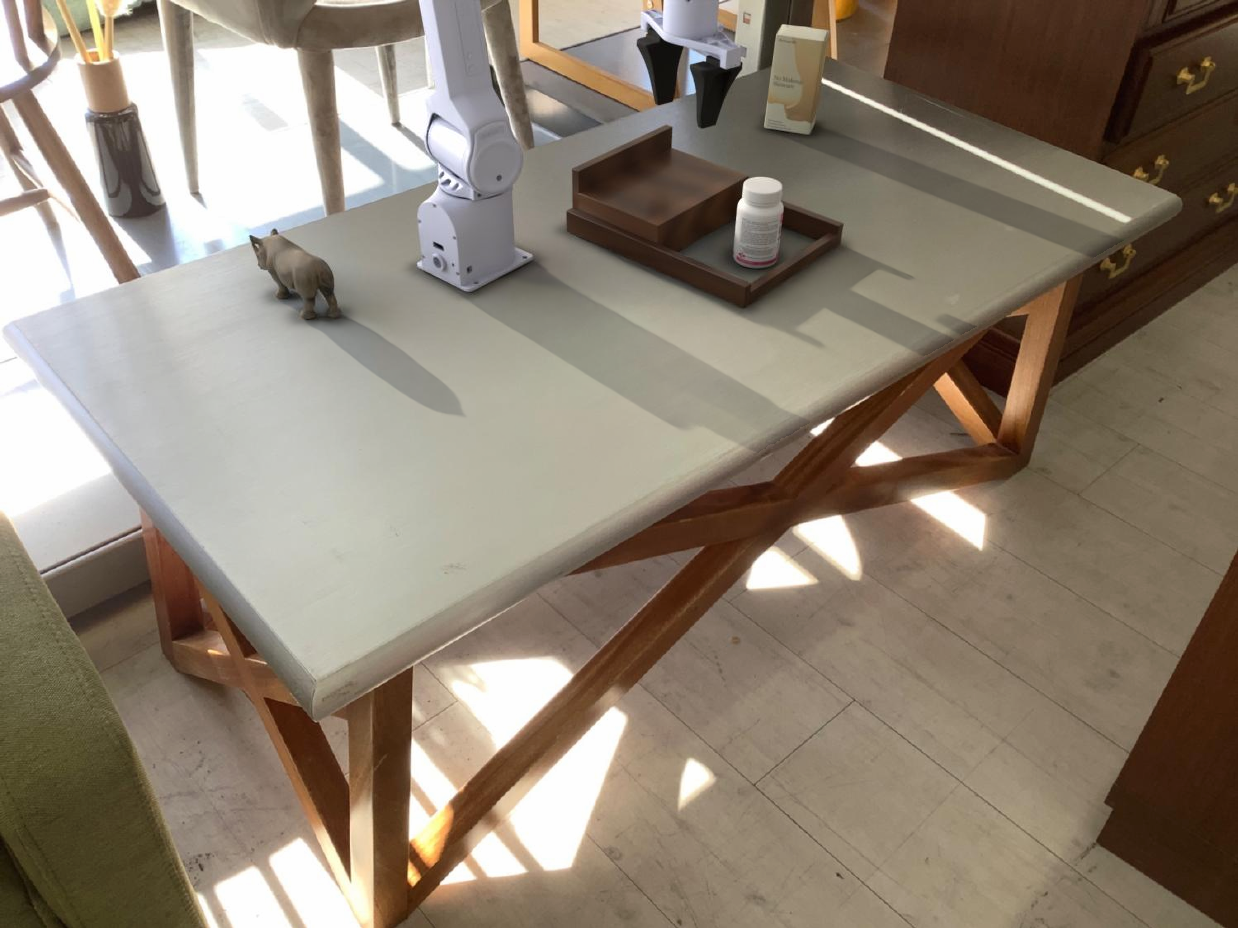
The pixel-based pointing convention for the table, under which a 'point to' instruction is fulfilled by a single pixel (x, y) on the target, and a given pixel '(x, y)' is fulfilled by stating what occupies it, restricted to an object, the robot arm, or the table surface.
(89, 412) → the table surface
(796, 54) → the cosmetic box
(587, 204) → the step rack
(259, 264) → the rhino figurine
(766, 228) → the pill bottle
